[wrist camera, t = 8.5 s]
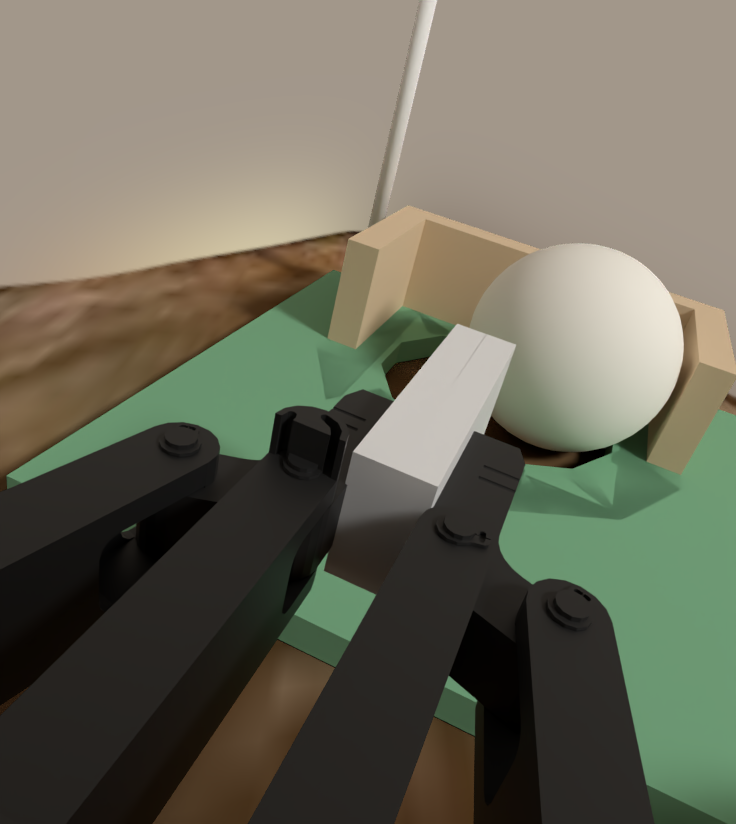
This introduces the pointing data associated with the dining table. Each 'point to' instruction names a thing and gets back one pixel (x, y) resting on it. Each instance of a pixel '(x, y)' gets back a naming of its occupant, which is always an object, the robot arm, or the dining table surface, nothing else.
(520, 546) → the green
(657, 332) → the ball
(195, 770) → the dining table surface
